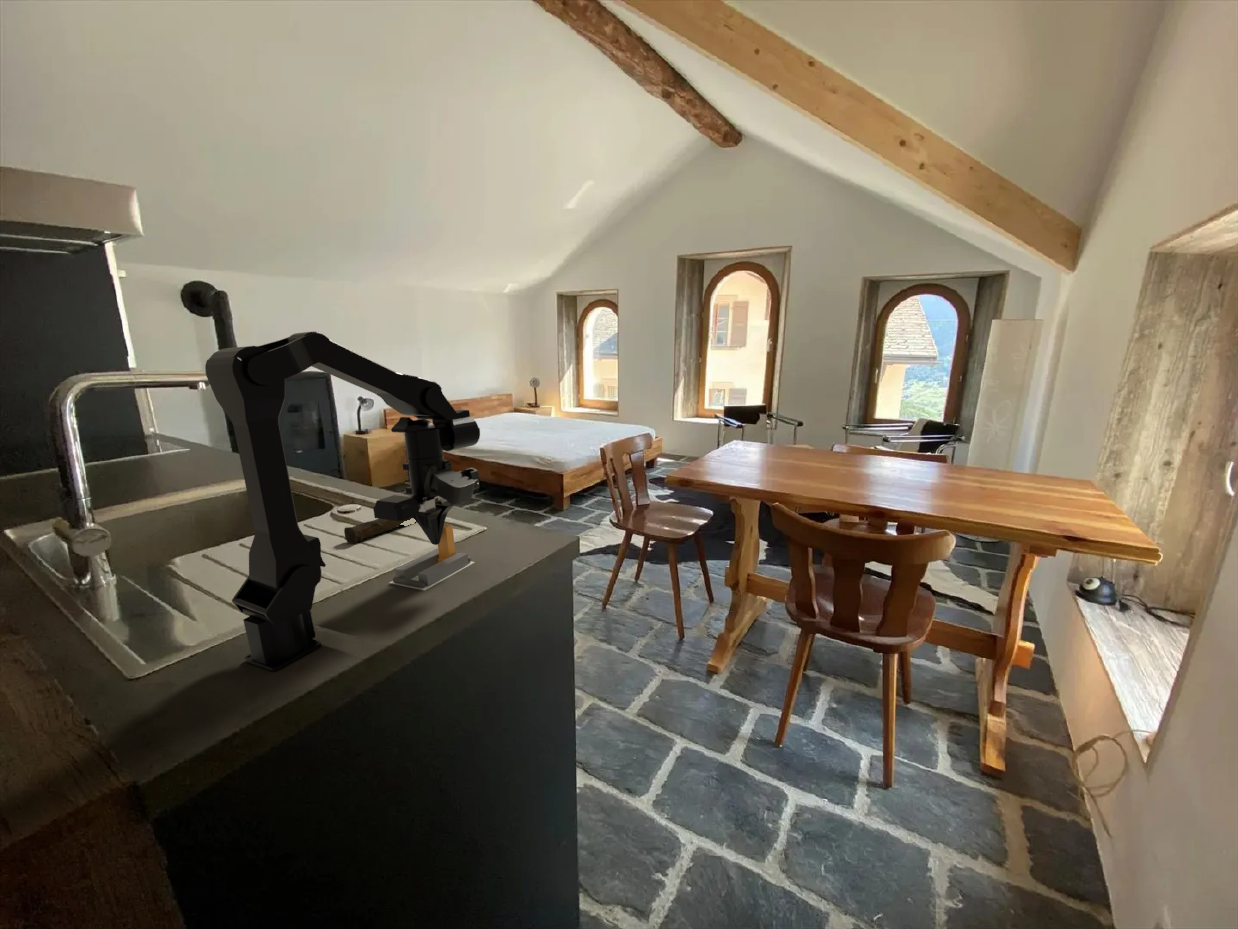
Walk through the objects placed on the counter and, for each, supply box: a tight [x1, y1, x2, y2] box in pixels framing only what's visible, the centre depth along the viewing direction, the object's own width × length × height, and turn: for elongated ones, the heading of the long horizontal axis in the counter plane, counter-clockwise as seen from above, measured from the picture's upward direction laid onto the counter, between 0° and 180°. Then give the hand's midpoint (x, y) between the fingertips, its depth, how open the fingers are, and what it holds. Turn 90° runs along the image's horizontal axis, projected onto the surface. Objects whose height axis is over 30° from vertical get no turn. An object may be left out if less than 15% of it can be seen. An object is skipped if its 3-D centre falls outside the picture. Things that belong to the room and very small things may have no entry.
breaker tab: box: [437, 523, 457, 563], centre depth 91 cm, size 2×2×7 cm
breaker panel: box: [388, 548, 476, 591], centre depth 89 cm, size 12×8×4 cm, turn 155°
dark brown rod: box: [343, 517, 413, 545], centre depth 117 cm, size 19×4×5 cm, turn 145°
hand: (435, 544), depth 89 cm, fingers closed
